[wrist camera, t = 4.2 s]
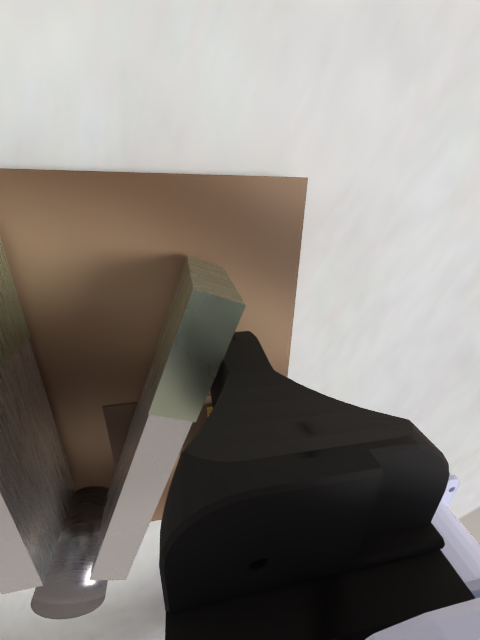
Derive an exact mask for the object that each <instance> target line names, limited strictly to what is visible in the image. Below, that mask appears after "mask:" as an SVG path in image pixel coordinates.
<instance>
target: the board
mask: <svg viewBox="0 0 480 640" xmlns="http://www.w3.org/2000/svg"><path fill="white" fill-rule="evenodd" d="M307 181H308V178H302V177H268V176H235V175H201V174H168V173H134V172H101V171H67V170H34V169H0V238H1V241H2V245H3V248H4V251H5V255H6V258H7V261H8V265H9V268H10V271H11V274H12V278H13V281H14V284H15V288H16V291H17V294H18V298H19V301H20V304H21V307H22V311H23V314H24V317H25V321H26V324H27V327H28V331H29V334H30V338H29V339H30V343H31V346H32V349H33V353H34V356H35V359H36V362H37V366H38V369H39V372H40V375H41V379H42V382H43V385H44V389H45V392H46V395H47V398H48V402H49V405H50V408H51V411H52V415H53V418H54V421H55V425H56V428H57V431H58V434H59V438H60V441H61V444H62V447H63V451H64V454H65V457H66V461H67V464H68V467H69V470H70V474H71V477H72V480H73V483H74V487H75V490H74V492H75V491H77V490H79V489H82V488H85V487H91V486H100V487H105V488H109V486H110V483H111V480H112V477H113V474H114V471H115V468H116V466H117V463H118V460H119V457H120V454H121V451H122V448H123V445H124V442H125V439H126V436H127V433H128V430H129V427H130V425H131V422H132V419H133V416H134V413H135V410H136V407H137V404H138V401H139V398H140V395H141V392H142V389H143V386H144V383H145V381H146V378H147V375H148V372H149V369H150V366H151V363H152V360H153V357H154V354H155V347H156V344H157V341H158V338H159V335H160V332H161V329H162V326H163V323H164V320H165V317H166V315H167V312H168V309H169V306H170V303H171V300H172V297H173V294H174V291H175V288H176V285H177V282H178V279H179V276H180V273H181V270H182V267H183V264H184V262H185V259H186V256H187V255H190V256H193V257H195V258H198V259H201V260H204V261H207V262H209V263H212V264H215V265H218V266H221V267H223V268H224V269H225V271H226V273H227V274H228V276H229V278H230V279H231V281H232V283H233V284H234V286H235V288H236V289H237V291H238V293H239V294H240V296H241V298H242V299H243V301H244V303H245V304H246V307H245V309H244V312H243V314H242V316H241V318H240V321H239V323H238V325H237V328H236V330H235V332H241V331H250V332H251V333H253V334H254V335H255V336H256V337H257V339H258V341H259V342H260V344H261V346H262V348H263V350H264V352H265V354H266V356H267V358H268V360H269V362H270V364H271V366H272V367H273V369H274V370H275V371H276V372H278V373H280V374H281V375H283V376H285V377H287V375H288V365H289V355H290V346H291V336H292V326H293V317H294V307H295V297H296V288H297V278H298V268H299V259H300V249H301V239H302V230H303V220H304V210H305V201H306V191H307ZM209 406H212V400H211V393H210V391H209V393H208V395H207V397H206V400H205V402H204V404H203V407H202V409H201V411H200V414H199V416H198V418H197V421H196V422H193V423H192V425H191V427H190V430H189V432H188V434H187V437H186V439H185V441H184V444H183V446H182V448H181V451H180V453H179V455H178V458H177V460H176V463H175V465H174V467H173V470H172V472H171V474H170V477H169V479H168V481H167V484H166V486H165V488H164V491H163V493H162V495H161V498H160V500H159V502H158V505H157V507H156V509H155V512H154V514H153V517H152V519H151V521H156V520H162V516H163V511H164V506H165V502H166V498H167V494H168V491H169V487H170V484H171V481H172V478H173V475H174V472H175V469H176V466H177V463H178V461H179V458H180V455H181V453H182V451H183V450H184V449H185V448H186V447H187V445H188V444H189V443H190V442H191V440H192V439H193V438H194V437H195V435H196V434H197V433H198V432H199V430H200V429H201V427H202V426H203V424H204V423H205V421H206V420H207V407H209ZM151 521H150V522H151Z"/></svg>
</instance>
